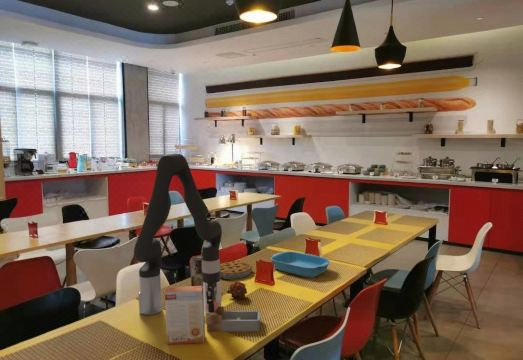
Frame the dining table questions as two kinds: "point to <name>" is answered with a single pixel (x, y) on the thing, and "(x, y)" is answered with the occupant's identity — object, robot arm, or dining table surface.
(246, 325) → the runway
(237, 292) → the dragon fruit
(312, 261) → the casserole dish
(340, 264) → the dining table surface
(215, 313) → the ramp
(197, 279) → the coffee box
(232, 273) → the pie
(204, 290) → the milk carton
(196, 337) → the cracker box
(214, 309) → the ball
